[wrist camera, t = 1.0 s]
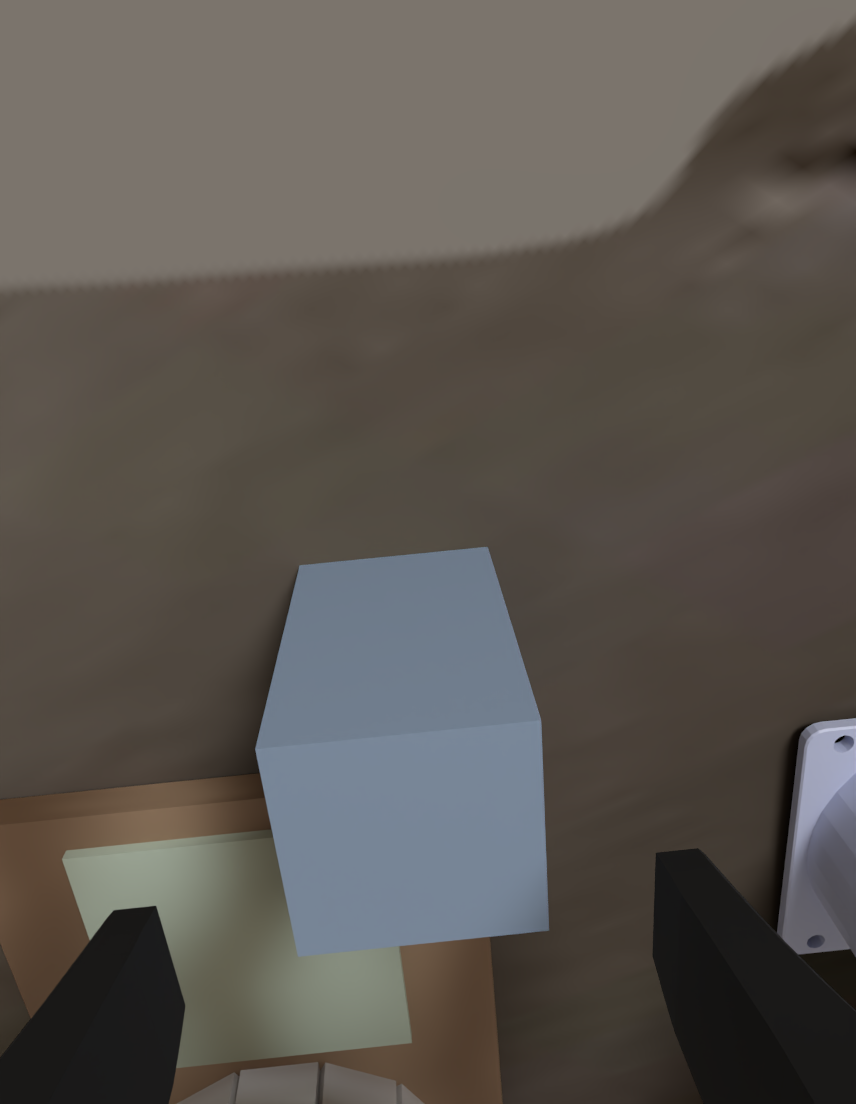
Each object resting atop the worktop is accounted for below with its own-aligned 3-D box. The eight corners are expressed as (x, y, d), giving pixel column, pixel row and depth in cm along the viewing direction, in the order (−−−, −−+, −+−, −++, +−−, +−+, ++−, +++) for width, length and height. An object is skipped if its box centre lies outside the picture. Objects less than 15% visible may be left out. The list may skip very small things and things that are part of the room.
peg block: (487, 546, 19) (541, 720, 12) (497, 705, 21) (549, 930, 14) (299, 565, 19) (255, 749, 12) (325, 723, 20) (297, 956, 14)
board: (473, 751, 21) (489, 848, 18) (509, 1209, 29) (524, 1335, 26) (-27, 802, 21) (-103, 910, 18) (145, 1249, 29) (115, 1381, 25)
